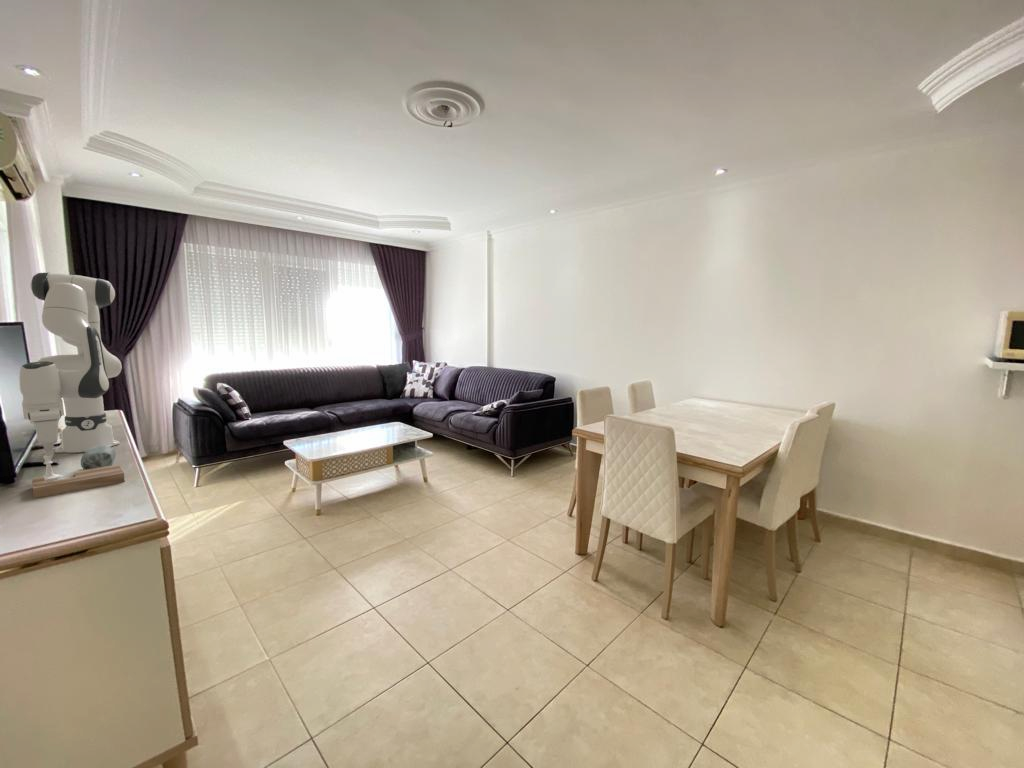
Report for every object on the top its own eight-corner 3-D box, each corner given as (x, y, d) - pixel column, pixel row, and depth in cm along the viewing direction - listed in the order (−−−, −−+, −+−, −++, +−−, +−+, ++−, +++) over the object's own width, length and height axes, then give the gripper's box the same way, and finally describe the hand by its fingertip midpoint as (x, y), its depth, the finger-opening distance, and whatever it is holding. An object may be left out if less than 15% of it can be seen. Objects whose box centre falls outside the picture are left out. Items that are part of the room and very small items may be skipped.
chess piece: (41, 482, 136) (37, 453, 135) (37, 479, 139) (33, 450, 138) (62, 478, 140) (59, 449, 139) (58, 475, 143) (55, 447, 142)
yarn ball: (119, 463, 148) (100, 439, 146) (86, 480, 142) (66, 455, 140) (127, 461, 159) (110, 440, 157) (97, 477, 154) (78, 455, 152)
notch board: (33, 487, 132) (32, 478, 132) (119, 472, 147) (118, 464, 147) (33, 498, 124) (32, 488, 124) (124, 481, 140) (123, 472, 139)
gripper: (28, 409, 141) (33, 449, 143) (30, 417, 128) (35, 461, 130) (55, 406, 146) (60, 445, 147) (60, 414, 133) (65, 456, 134)
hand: (49, 452), depth 138 cm, fingers open, 8 cm apart
